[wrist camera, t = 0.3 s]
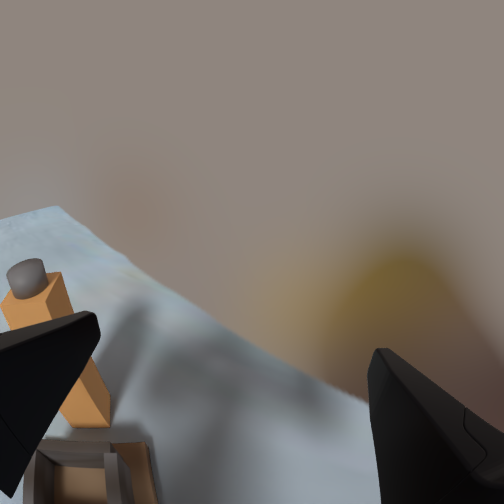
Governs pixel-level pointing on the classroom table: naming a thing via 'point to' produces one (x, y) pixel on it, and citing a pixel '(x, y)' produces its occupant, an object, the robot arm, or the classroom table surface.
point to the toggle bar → (44, 309)
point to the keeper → (89, 474)
